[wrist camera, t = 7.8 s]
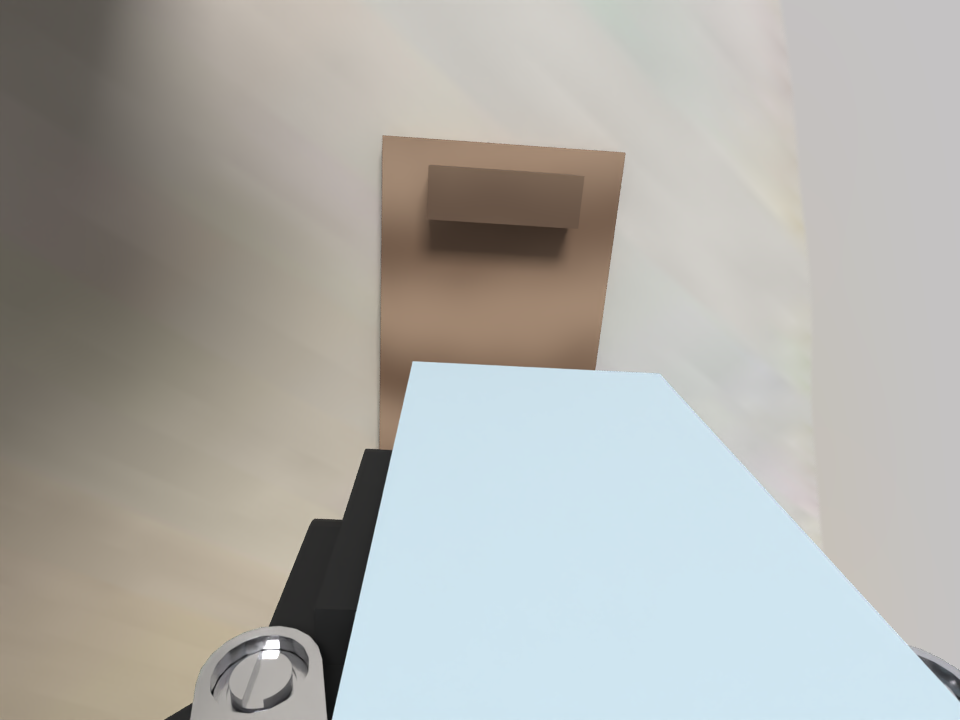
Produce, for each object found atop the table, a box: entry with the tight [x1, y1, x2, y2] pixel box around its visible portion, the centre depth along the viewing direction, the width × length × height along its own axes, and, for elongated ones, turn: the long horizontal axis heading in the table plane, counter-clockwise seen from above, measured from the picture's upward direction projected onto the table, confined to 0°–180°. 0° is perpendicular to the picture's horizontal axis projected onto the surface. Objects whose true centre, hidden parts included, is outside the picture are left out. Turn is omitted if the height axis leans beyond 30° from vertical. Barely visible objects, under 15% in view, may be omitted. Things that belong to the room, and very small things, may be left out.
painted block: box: [332, 361, 960, 720], centre depth 8 cm, size 5×5×9 cm
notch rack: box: [379, 135, 625, 450], centre depth 29 cm, size 34×10×3 cm, turn 176°
